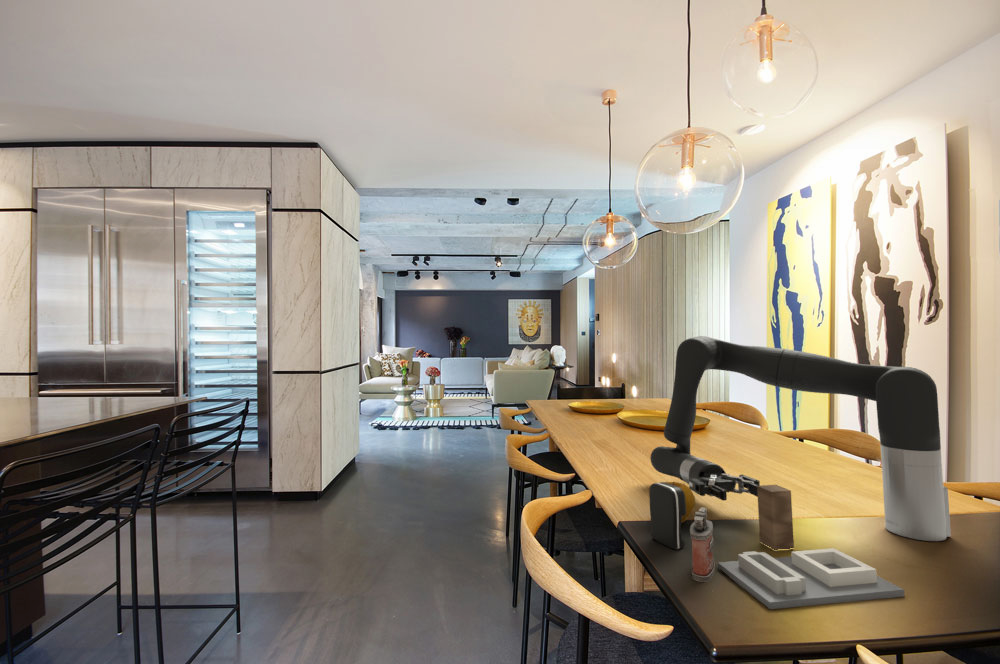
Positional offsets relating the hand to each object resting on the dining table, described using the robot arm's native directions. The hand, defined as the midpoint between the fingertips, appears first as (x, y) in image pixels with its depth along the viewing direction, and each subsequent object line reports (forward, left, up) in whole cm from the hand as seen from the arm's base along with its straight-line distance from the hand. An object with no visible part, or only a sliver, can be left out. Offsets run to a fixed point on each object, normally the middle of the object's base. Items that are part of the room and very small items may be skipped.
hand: (744, 494), depth 98 cm
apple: (+13, -6, -7) cm, 16 cm away
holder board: (+5, +22, -7) cm, 24 cm away
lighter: (+19, +16, -7) cm, 26 cm away
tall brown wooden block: (0, +9, -7) cm, 12 cm away
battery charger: (+19, +4, -7) cm, 21 cm away
